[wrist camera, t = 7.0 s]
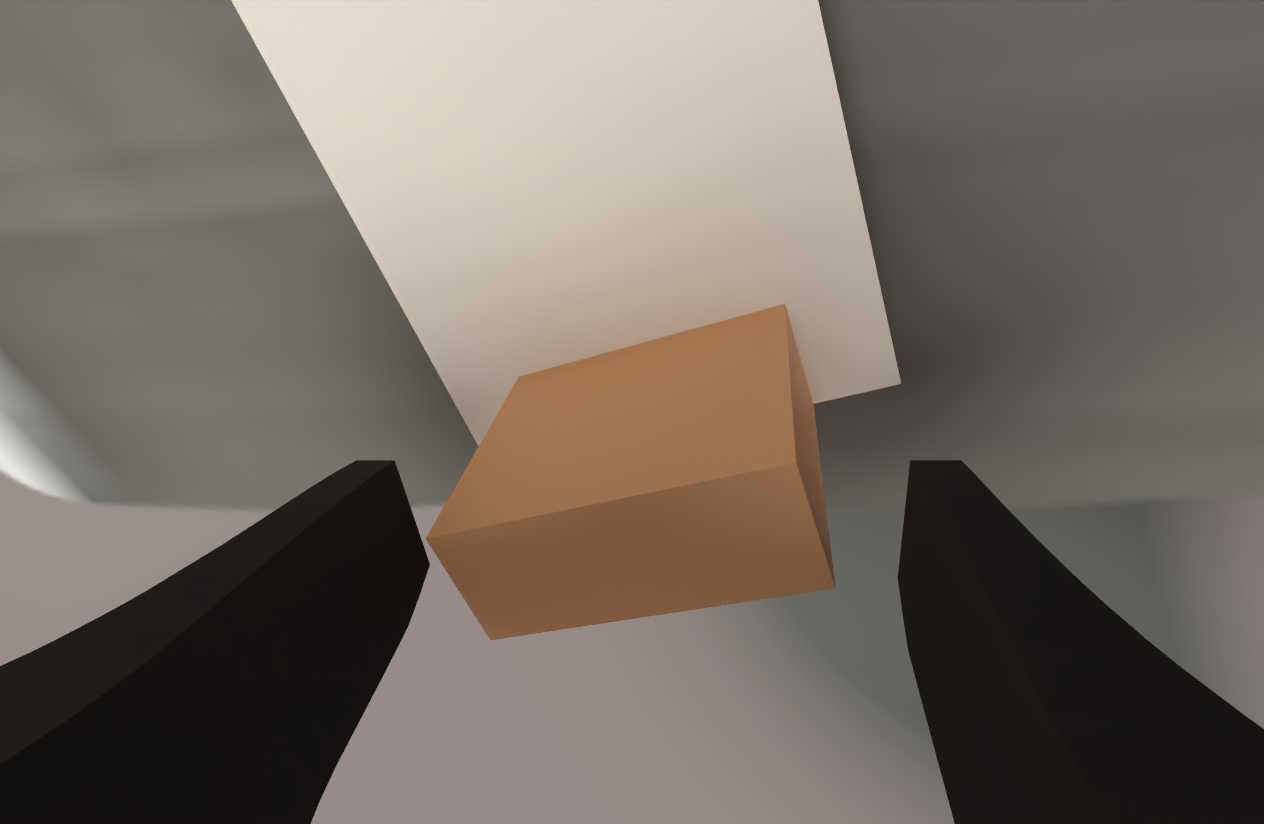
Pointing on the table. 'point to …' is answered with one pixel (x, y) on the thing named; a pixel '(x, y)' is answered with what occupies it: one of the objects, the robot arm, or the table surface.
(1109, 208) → the table surface
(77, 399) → the table surface
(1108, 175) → the table surface
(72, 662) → the robot arm
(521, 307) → the cream slab with block
